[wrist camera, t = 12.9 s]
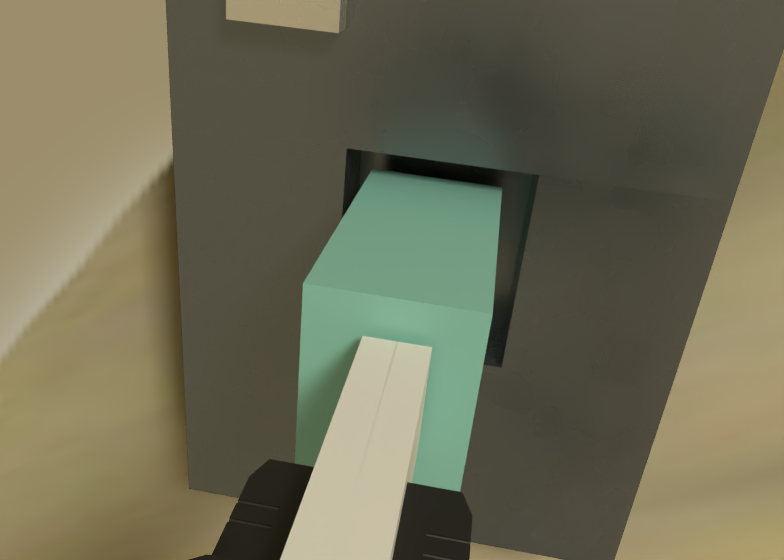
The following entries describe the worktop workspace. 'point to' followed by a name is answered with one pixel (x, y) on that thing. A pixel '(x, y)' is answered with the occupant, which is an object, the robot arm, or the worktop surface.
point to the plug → (404, 307)
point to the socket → (516, 229)
